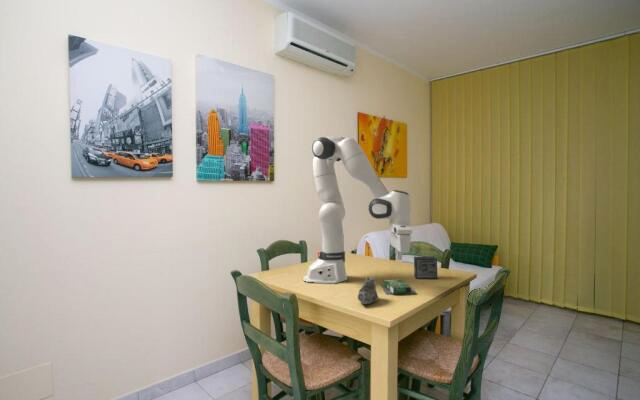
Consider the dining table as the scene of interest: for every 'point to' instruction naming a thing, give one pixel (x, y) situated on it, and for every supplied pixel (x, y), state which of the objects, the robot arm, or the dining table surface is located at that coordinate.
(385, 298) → the dining table surface
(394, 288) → the coffee box
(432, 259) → the small box
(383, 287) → the mat
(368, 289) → the mineral rock
